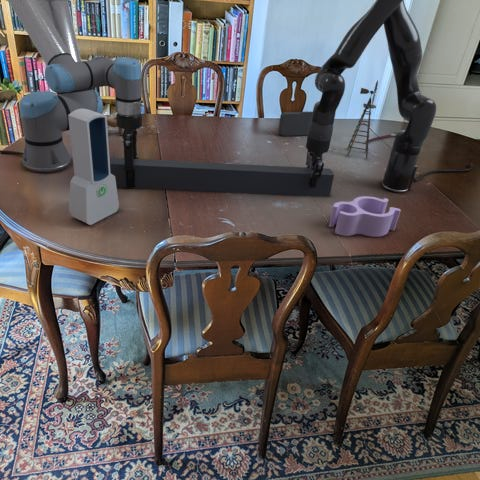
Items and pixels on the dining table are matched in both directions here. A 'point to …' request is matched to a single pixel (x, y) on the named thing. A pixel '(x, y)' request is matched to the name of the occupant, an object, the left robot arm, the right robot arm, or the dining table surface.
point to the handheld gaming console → (294, 123)
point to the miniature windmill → (364, 91)
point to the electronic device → (91, 168)
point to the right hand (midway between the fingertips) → (310, 183)
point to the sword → (382, 137)
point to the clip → (364, 217)
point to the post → (222, 177)
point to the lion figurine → (114, 124)
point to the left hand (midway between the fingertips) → (131, 183)
